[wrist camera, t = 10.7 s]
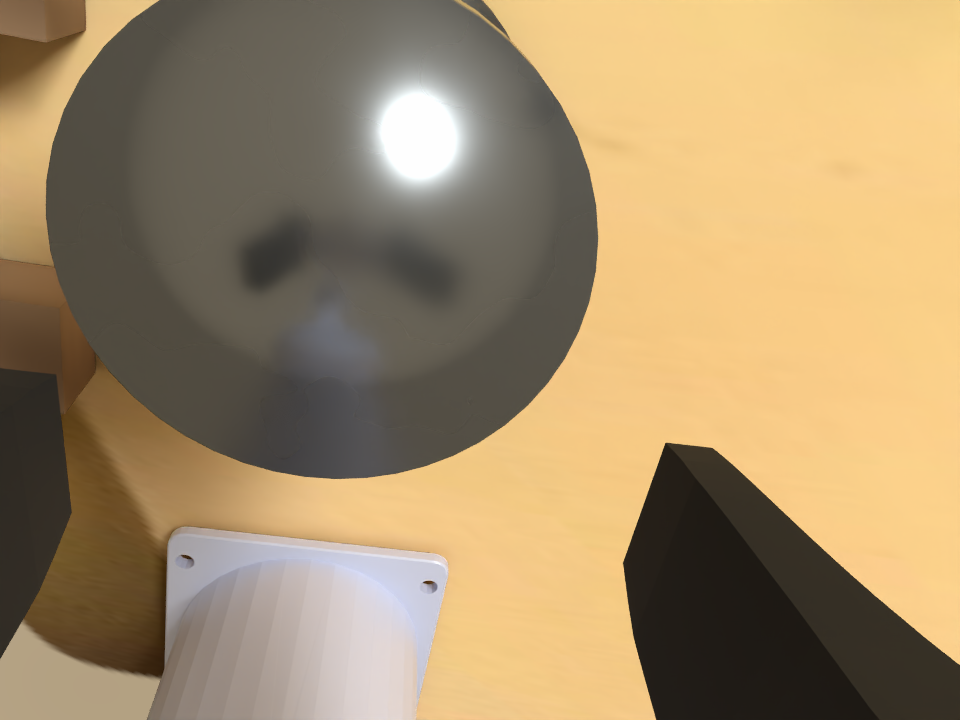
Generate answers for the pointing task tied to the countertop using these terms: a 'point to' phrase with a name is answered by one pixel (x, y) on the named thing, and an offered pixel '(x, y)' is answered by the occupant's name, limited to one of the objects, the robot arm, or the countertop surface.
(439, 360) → the bobbin post
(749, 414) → the countertop surface
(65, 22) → the notched board
